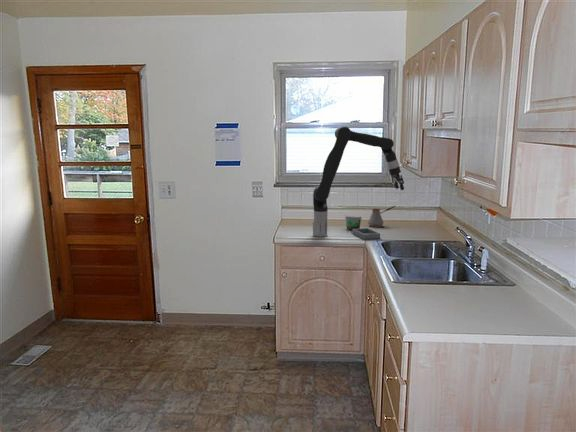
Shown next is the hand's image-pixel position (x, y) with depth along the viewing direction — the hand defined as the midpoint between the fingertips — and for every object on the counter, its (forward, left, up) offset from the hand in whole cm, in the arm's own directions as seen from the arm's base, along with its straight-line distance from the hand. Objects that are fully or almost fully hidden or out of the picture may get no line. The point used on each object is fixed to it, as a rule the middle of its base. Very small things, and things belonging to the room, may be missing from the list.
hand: (400, 189), depth 298 cm
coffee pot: (+11, +20, -31) cm, 38 cm away
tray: (-25, +10, -31) cm, 41 cm away
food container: (-16, +28, -31) cm, 45 cm away
